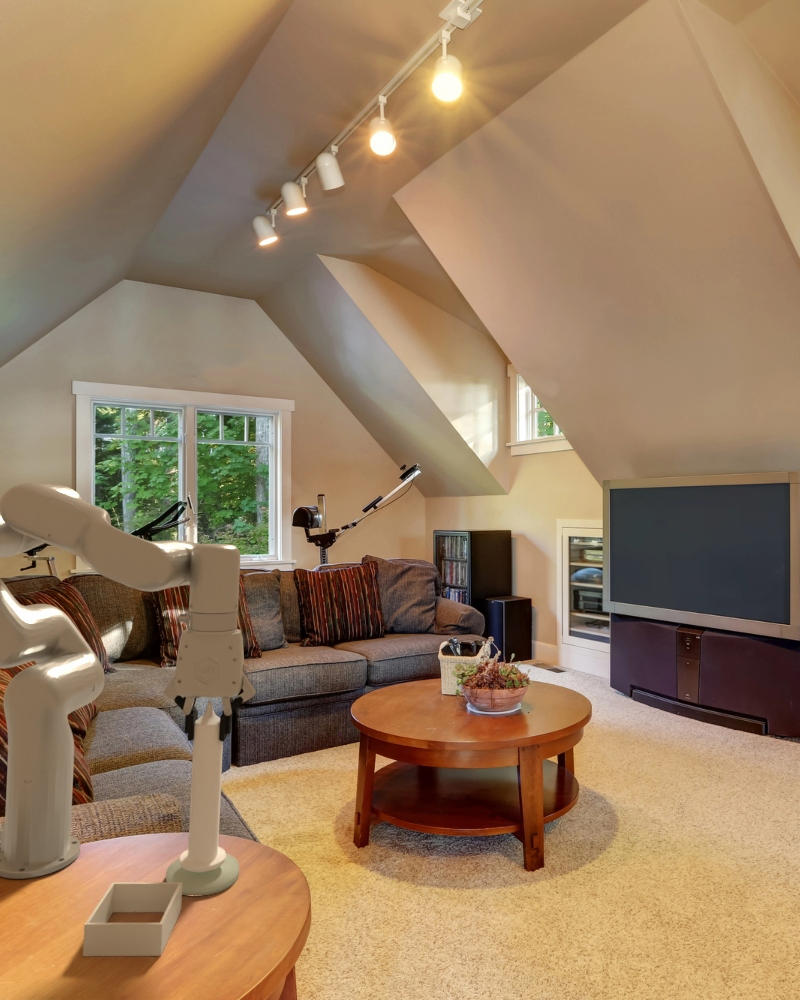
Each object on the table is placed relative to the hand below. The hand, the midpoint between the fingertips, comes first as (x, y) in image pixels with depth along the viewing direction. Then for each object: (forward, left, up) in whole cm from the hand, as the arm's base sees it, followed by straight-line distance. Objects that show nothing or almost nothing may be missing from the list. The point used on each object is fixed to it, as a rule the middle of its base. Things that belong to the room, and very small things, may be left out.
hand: (207, 736), depth 105 cm
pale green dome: (0, 0, -22) cm, 22 cm away
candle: (0, 0, -20) cm, 20 cm away
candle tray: (+1, -15, -22) cm, 27 cm away
